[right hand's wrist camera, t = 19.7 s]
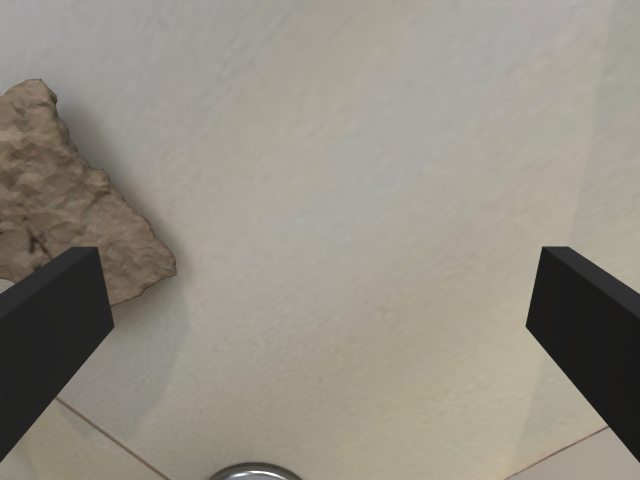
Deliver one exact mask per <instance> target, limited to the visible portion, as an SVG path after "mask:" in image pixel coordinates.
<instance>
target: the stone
mask: <svg viewBox="0 0 640 480" xmlns="http://www.w3.org/2000/svg"><path fill="white" fill-rule="evenodd" d="M56 103H57V96H56V95H55V93H54V92H53V91H52V90H50V89H49V88H48V87H47V85H46V84H45V83H44V82H43V81H42V79H31V80H26V81H24V82H22V83H20V84H18V85H16V86H14V87H12V88H11V89H9V90H8V91H7V92H6V93H5V94H4V95H2V96H1V97H0V279H6V280H9V281H12V282H13V283H15V284H16V283H18V282H19V281H21V280H22V279H24V278H25V277H27V276H28V275H30V274H31V273H33V272H34V271H36V270H37V269H39V268H40V267H42V266H43V265H45V264H46V263H48V262H49V261H51V260H52V259H54V258H55V257H57V256H58V255H60V254H61V253H63V252H64V251H66V250H67V249H69V248H70V247H98V250H99V255H100V260H101V265H102V269H103V274H104V279H105V284H106V288H107V293H108V298H109V303H110V307H112V306H114V305H116V304H119V303H122V302H125V301H127V300H130V299H132V298H135V297H138V296H141V295H142V293H143V292H144V291H145V289H147V288H149V287H151V286H153V285H154V284H155V283H157V282H158V281H160V280H162V279H164V278H165V277H172V276H175V275H177V274H176V259H175V258H174V256H173V254H172V252H171V251H170V250H169V249H168V248H167V247H166V246H165V245H164V243H162V242H161V241H160V240H159V239H157V238H156V237H155V235H154V232H153V230H152V229H151V226H150V224H149V221H148V220H147V219H145V218H144V217H143V216H142V215H140V214H138V213H137V211H136V210H134V209H132V208H131V207H130V206H129V205H128V204H127V203H126V202H125V200H124V198H123V196H122V194H121V192H119V191H118V190H117V189H116V188H115V187H114V186H113V184H112V183H111V181H110V179H109V176H108V174H107V173H106V172H105V171H104V170H102V169H100V170H94V169H92V168H91V167H90V165H89V163H88V161H86V160H85V159H84V158H82V157H81V156H79V155H78V151H77V148H76V145H75V144H74V143H73V142H72V141H71V140H69V130H68V128H67V126H66V124H65V122H64V121H63V120H62V119H61V118H60V117H59V116H58V114H57V110H56Z"/></svg>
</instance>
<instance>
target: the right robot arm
mask: <svg viewBox="0 0 640 480" xmlns="http://www.w3.org/2000/svg"><path fill="white" fill-rule="evenodd" d="M114 327H115V326H114V322H113V317H112V312H111V307H110V303H109V298H108V293H107V288H106V284H105V279H104V274H103V269H102V265H101V260H100V255H99V250H98V247H70V248H69V249H67V250H66V251H64V252H63V253H61V254H60V255H58V256H57V257H55V258H54V259H52V260H51V261H49V262H48V263H46V264H45V265H43V266H42V267H40V268H39V269H37V270H36V271H34V272H33V273H31V274H30V275H28V276H27V277H25V278H24V279H22V280H21V281H19V282H18V283H16V284H15V285H13V286H12V287H10V288H9V289H7V290H6V291H4V292H3V293H1V294H0V463H1V461H2V460H3V459H4V458H5V457H6V455H7V454H8V453H9V452H10V451H11V449H12V448H13V447H14V446H15V445H16V444H17V442H18V441H19V440H20V439H21V438H22V436H23V435H24V434H25V433H26V432H27V430H28V429H29V428H30V427H31V426H32V424H33V423H34V422H35V421H36V420H37V418H38V417H39V416H40V415H41V414H42V413H43V411H44V410H45V409H46V408H47V407H48V405H49V404H50V403H51V402H52V401H53V399H54V398H55V397H56V396H57V395H58V393H59V392H60V391H61V390H62V389H63V387H64V386H65V385H66V384H67V383H68V381H69V380H70V379H71V378H72V377H73V376H74V374H75V373H76V372H77V371H78V370H79V368H80V367H81V366H82V365H83V364H84V362H85V361H86V360H87V359H88V358H89V356H90V355H91V354H92V353H93V352H94V350H95V349H96V348H97V347H98V346H99V345H100V343H101V342H102V341H103V340H104V339H105V337H106V336H107V335H108V334H109V333H110V331H111V330H112V329H113V328H114ZM525 327H526V328H527V329H528V330H529V331H530V333H531V334H532V335H533V336H534V337H535V339H536V340H537V341H538V342H539V343H540V345H541V346H542V347H543V348H544V349H545V350H546V352H547V353H548V354H549V355H550V356H551V358H552V359H553V360H554V361H555V362H556V364H557V365H558V366H559V367H560V368H561V370H562V371H563V372H564V373H565V374H566V376H567V377H568V378H569V379H570V380H571V381H572V383H573V384H574V385H575V386H576V387H577V389H578V390H579V391H580V392H581V393H582V395H583V396H584V397H585V398H586V399H587V401H588V402H589V403H590V404H591V405H592V407H593V408H594V409H595V410H596V411H597V413H598V414H599V415H600V416H601V417H602V418H603V420H604V421H605V422H606V423H607V424H608V426H609V427H610V428H611V429H612V430H613V431H614V433H615V434H616V435H617V436H618V438H619V439H620V440H621V441H622V442H623V443H624V445H625V446H626V447H627V448H628V449H629V451H630V452H631V453H632V454H633V455H634V457H635V458H636V459H637V460H638V461H639V463H640V294H639V293H637V292H636V291H634V290H633V289H631V288H630V287H628V286H627V285H625V284H624V283H622V282H621V281H619V280H618V279H616V278H615V277H613V276H612V275H610V274H609V273H607V272H606V271H604V270H603V269H601V268H600V267H598V266H597V265H595V264H594V263H592V262H591V261H589V260H588V259H586V258H585V257H583V256H582V255H580V254H579V253H577V252H576V251H574V250H573V249H571V248H570V247H542V250H541V255H540V260H539V265H538V269H537V274H536V279H535V284H534V288H533V293H532V298H531V303H530V307H529V312H528V317H527V322H526V326H525ZM209 480H301V479H300V478H298V477H297V476H296V475H294V474H293V473H291V472H289V471H287V470H285V469H283V468H280V467H277V466H274V465H270V464H264V463H244V464H238V465H234V466H231V467H228V468H225V469H223V470H221V471H219V472H218V473H216V474H215V475H214V476H212V477H211V478H210V479H209Z"/></svg>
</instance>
